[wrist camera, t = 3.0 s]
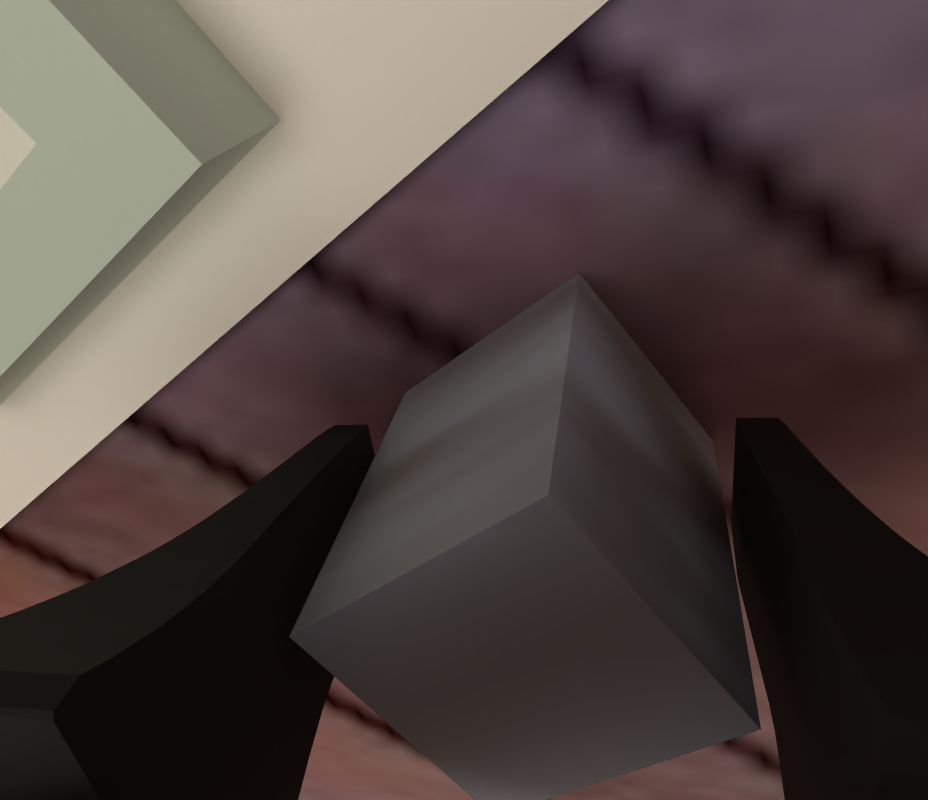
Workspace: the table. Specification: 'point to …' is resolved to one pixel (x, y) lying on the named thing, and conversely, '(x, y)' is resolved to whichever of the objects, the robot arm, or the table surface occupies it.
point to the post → (540, 566)
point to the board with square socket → (202, 176)
